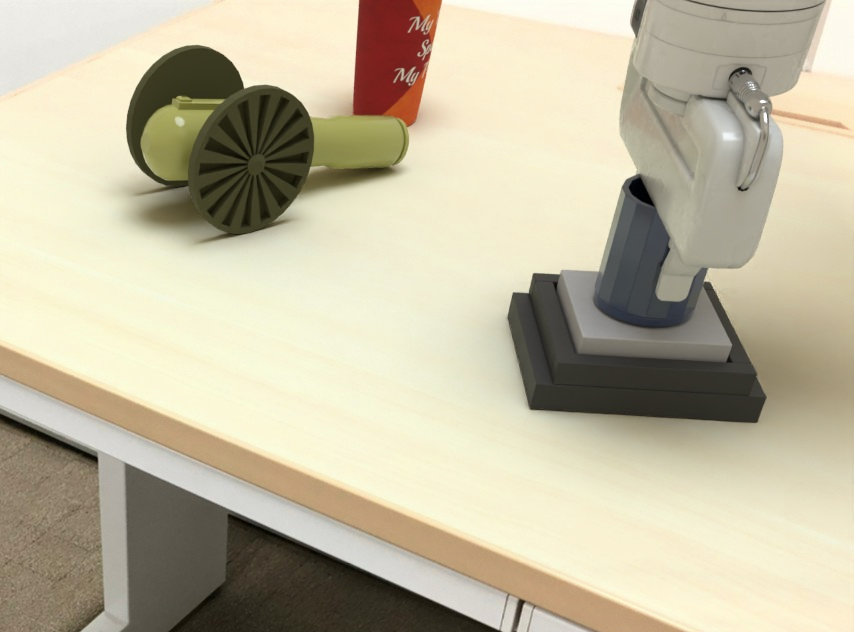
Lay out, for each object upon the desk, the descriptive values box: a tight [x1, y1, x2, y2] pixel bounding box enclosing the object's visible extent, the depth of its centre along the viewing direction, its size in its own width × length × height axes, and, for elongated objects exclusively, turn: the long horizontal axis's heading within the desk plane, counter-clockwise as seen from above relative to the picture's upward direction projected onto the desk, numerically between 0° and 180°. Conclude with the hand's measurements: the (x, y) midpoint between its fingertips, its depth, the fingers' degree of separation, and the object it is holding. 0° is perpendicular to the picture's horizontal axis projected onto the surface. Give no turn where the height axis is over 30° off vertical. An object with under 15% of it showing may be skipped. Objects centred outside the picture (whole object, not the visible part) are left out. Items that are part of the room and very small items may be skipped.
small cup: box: [593, 174, 710, 327], centre depth 78 cm, size 6×6×8 cm
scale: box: [507, 272, 768, 423], centre depth 82 cm, size 14×12×4 cm
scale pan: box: [556, 269, 732, 362], centre depth 81 cm, size 9×9×2 cm
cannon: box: [125, 44, 410, 235], centre depth 101 cm, size 25×12×11 cm, turn 117°
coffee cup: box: [352, 0, 443, 127], centre depth 112 cm, size 8×8×15 cm
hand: (654, 266), depth 79 cm, fingers closed on small cup, 6 cm apart
